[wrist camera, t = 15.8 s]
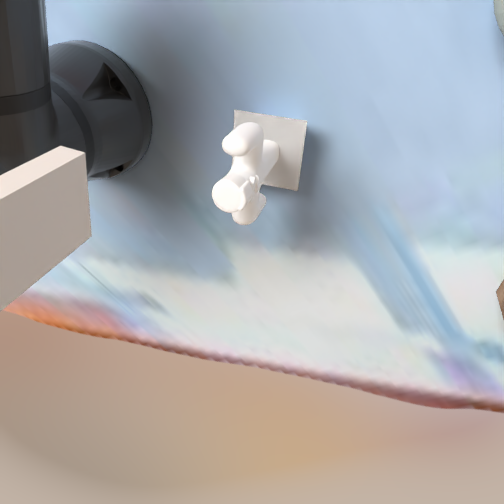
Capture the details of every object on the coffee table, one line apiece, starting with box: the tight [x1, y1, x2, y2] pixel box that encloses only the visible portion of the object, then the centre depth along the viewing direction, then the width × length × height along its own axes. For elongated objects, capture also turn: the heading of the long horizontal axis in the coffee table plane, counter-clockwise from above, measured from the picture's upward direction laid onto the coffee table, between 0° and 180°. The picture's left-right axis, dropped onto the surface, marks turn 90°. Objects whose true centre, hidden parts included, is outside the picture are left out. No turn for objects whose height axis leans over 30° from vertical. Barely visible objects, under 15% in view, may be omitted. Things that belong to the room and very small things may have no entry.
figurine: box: [212, 110, 307, 225], centre depth 40 cm, size 7×9×15 cm
